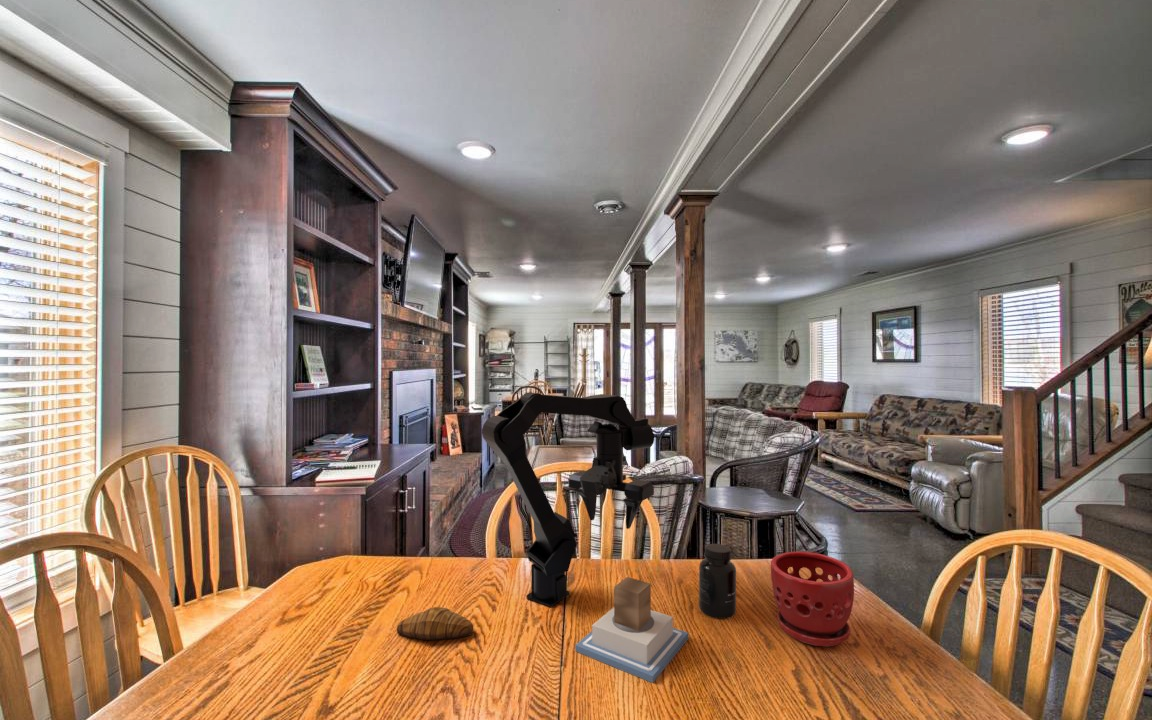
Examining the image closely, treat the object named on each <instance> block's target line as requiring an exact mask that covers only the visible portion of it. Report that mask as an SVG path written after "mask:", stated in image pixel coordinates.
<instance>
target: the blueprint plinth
mask: <svg viewBox="0 0 1152 720" xmlns="http://www.w3.org/2000/svg"><path fill="white" fill-rule="evenodd" d="M689 635H690V634H689V632H687V631H684V630H682V629H678V628H676V627H674V616H671V615H668V614H664V613H662V612H659V611H655V610H652V609H651V619H650V620H649V621H648V622H647V623H646V624H645V625H644V626H643V627H642V628H641V629H640V630H639V631H637V630H634V629H632V628H629V627H626V626H623V625H620V624H618V623H615V622H614V606H613V607H612V608H611V609H609V611H608V612H606V613H604V615H603V616H601V617H600V618H599V619H597V620H596V621H595V622H594V623H593V624H592V625H591V631H590V632H588V634H586V635H585V636H584V637H582V639H581V640H579V642H577V643H576V644H575V645H574V649H575V652H577V653H579V654H581V655H583V656H587V657H589V658H591V659H594V660H595V661H598V662H601V663H603V664H605V665H608V666H611V667H612V668H615V669H618V670H620V671H623V672H625V673H628V674H630V675H632V676H634V675H635V677H637V678H639V677H640V678H639V679H642V680H644V681H647V682H650V683H652V684H653V683H654V682H655V681H656V680H657V679H658V677H659V676H660V675H661V674H662V672H663V671H664V670H665V668H667V666H668V665H669V664H670V662H671V661H673V659H674V658H675V656H676V655H677V654H678V652H679V651H680V650H681V649H682V647H683V646H684V645H685V643H686V642H687V641H688V640H689Z"/></svg>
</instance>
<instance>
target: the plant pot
mask: <svg viewBox="0 0 1152 720" xmlns="http://www.w3.org/2000/svg"><path fill="white" fill-rule="evenodd" d="M789 568H792V572H790V573H789ZM803 568H805V569H807V570H809V571H810V576H809V577H807V578H803V577H802V576H801V575H800V571H801V569H803ZM817 568H818V569H821V570H822V573H821V574H819V573H818V572H817V570H816V569H817ZM838 575H839V577H840V579H839V577H838ZM829 576H830V577H831V579H830V578H829ZM770 578H771V585H772V590H773V591H772V592H773V593H772V594H773V597H774V601H775V604H776V606H777V609H778V611H777V614H776V619H777V622H778V624H779V626H780V627H781V629H782V630H783V631H784V632H786V634H788V635H789V636H790V637H792V638H794V640H797V641H799V642H802V643H804V644H808V645H812V646H816V647H828V648H829V647H830V648H831V647H834V646H837V645H841V644H843V643H844V642H845V641H847V639H849V638H850V634H851V627H850V625H849V623H848V621H849V619H850V617H851V614H852V610H853V605H854V599H855V598H854V596H855V582H854V579H855V578H854V572H853V570H852V569H851V568H850V566H849V565H847V564H846V563H845V562H843V561H841V560H839V559H837V558H834V557H832V556H829V555H827V554H826V555H825V554H821V553H817V552H809V551H788V552H782V553H780V554H777V555H775V556H774V557H772V559H771V560H770ZM818 580H822V581H818Z"/></svg>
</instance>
